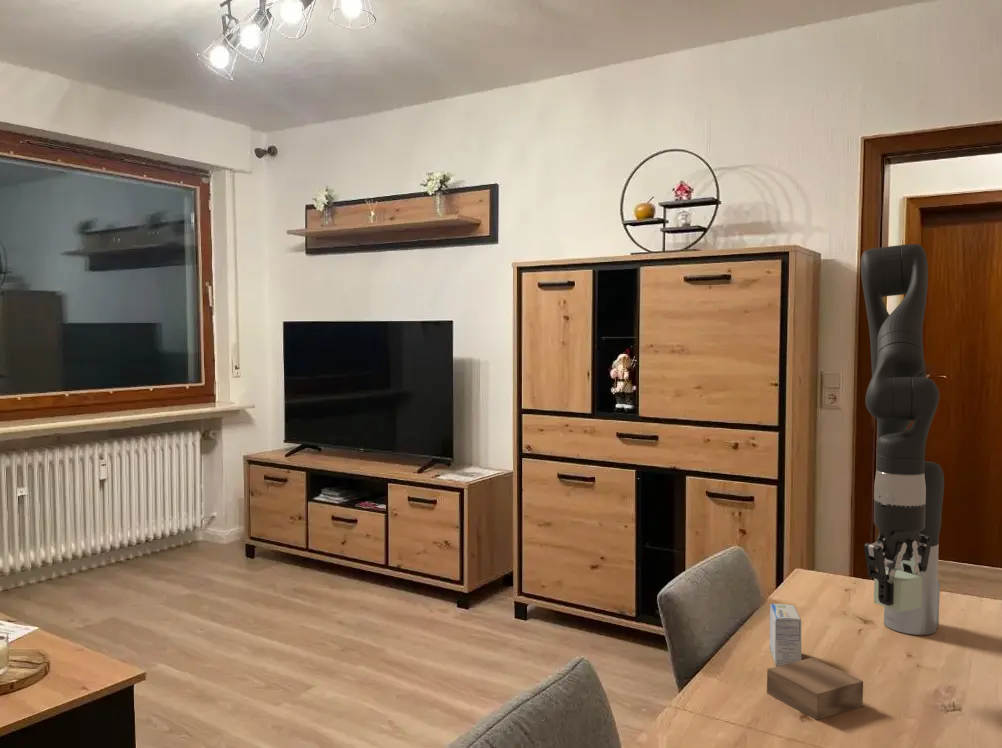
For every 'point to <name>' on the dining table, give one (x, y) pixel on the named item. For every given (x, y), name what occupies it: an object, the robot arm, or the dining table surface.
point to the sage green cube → (903, 591)
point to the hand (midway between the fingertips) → (897, 600)
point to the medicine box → (785, 634)
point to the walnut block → (815, 688)
